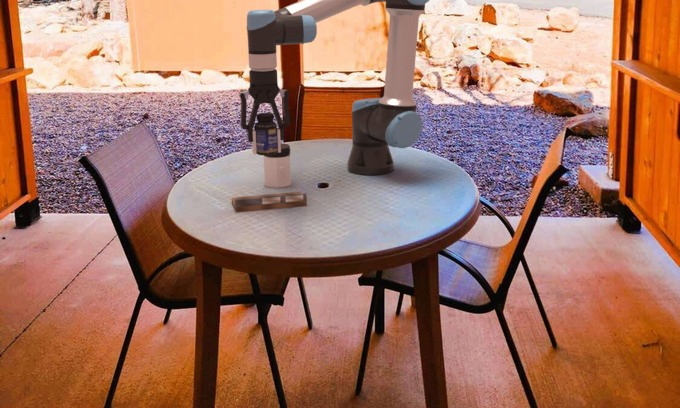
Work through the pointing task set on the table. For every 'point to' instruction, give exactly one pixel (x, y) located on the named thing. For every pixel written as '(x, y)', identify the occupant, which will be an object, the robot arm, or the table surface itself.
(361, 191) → the table surface
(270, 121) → the pill bottle
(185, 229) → the table surface
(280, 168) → the jar
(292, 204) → the wooden compartment tray
